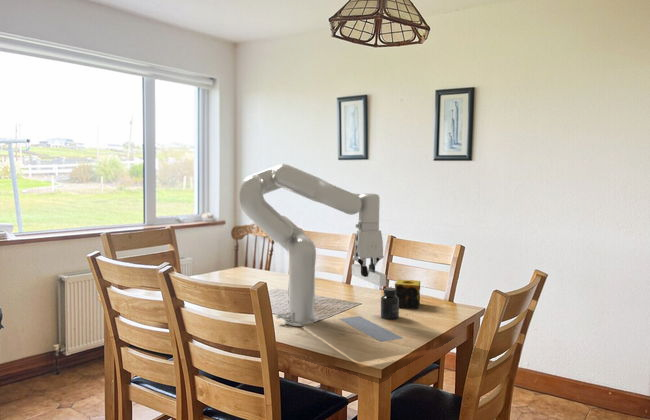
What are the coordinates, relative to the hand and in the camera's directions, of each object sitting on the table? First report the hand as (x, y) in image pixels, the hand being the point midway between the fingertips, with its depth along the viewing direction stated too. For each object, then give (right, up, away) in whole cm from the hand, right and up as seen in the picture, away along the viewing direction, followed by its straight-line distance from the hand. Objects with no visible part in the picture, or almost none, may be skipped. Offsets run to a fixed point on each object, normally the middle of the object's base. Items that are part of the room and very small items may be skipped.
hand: (367, 275), depth 195 cm
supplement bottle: (+8, -17, +2) cm, 19 cm away
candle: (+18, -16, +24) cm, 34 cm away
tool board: (0, -18, -11) cm, 22 cm away
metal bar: (0, -2, 0) cm, 2 cm away
